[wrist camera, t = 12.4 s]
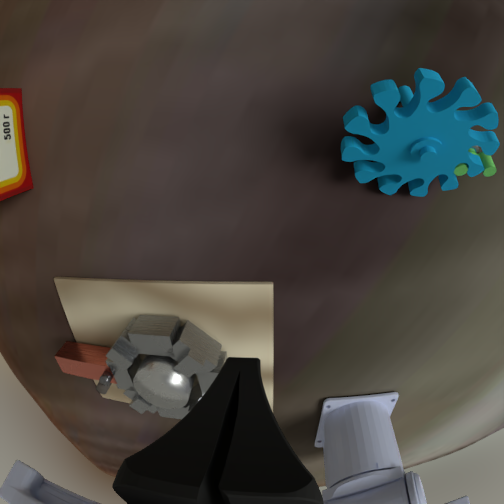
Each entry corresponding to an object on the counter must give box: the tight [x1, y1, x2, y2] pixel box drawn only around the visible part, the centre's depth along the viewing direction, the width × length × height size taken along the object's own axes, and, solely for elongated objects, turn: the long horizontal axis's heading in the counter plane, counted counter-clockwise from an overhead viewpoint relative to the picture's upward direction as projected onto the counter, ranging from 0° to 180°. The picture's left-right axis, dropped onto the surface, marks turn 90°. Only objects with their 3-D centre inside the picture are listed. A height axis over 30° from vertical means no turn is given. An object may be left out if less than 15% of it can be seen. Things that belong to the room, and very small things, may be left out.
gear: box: [341, 68, 500, 197], centre depth 15 cm, size 11×6×10 cm
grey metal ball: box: [133, 354, 196, 409], centre depth 24 cm, size 5×5×4 cm
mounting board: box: [54, 277, 273, 412], centre depth 24 cm, size 16×20×3 cm
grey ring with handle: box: [55, 315, 227, 419], centre depth 24 cm, size 17×10×4 cm, turn 93°
